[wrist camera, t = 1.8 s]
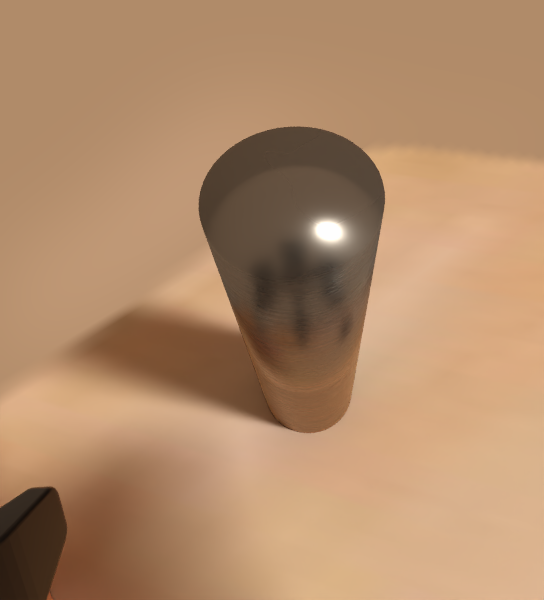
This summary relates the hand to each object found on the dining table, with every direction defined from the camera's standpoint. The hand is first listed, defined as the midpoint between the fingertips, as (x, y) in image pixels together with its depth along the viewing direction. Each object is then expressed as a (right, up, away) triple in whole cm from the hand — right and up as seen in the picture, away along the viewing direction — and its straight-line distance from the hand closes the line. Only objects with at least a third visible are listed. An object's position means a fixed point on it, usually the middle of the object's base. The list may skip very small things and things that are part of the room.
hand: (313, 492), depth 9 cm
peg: (+1, 0, +13) cm, 13 cm away
